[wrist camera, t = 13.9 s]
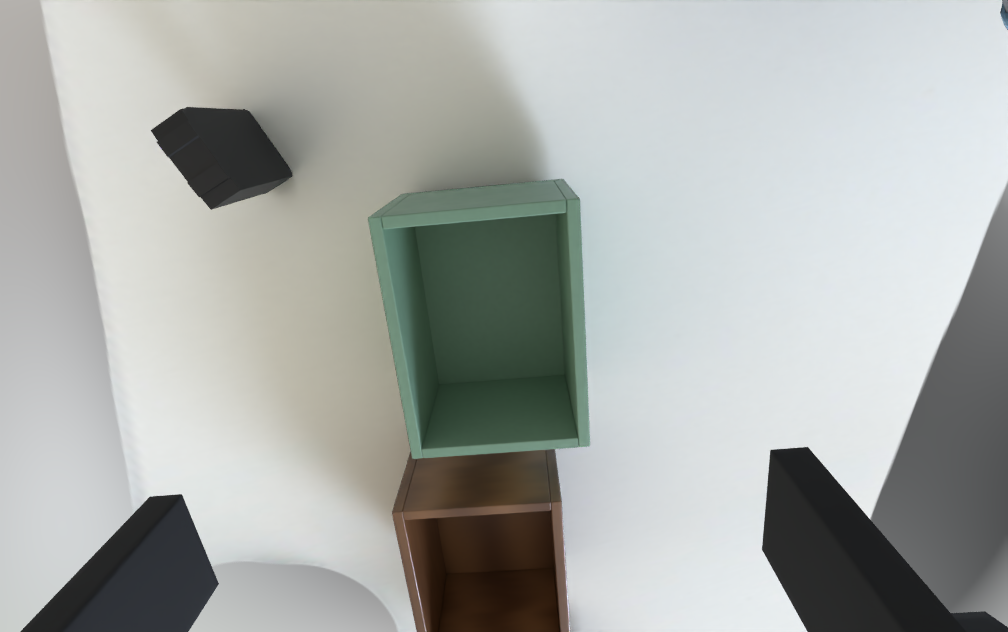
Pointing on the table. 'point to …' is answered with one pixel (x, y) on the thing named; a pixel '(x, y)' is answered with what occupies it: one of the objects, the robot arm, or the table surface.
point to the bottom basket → (484, 542)
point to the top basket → (486, 317)
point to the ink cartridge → (222, 154)
